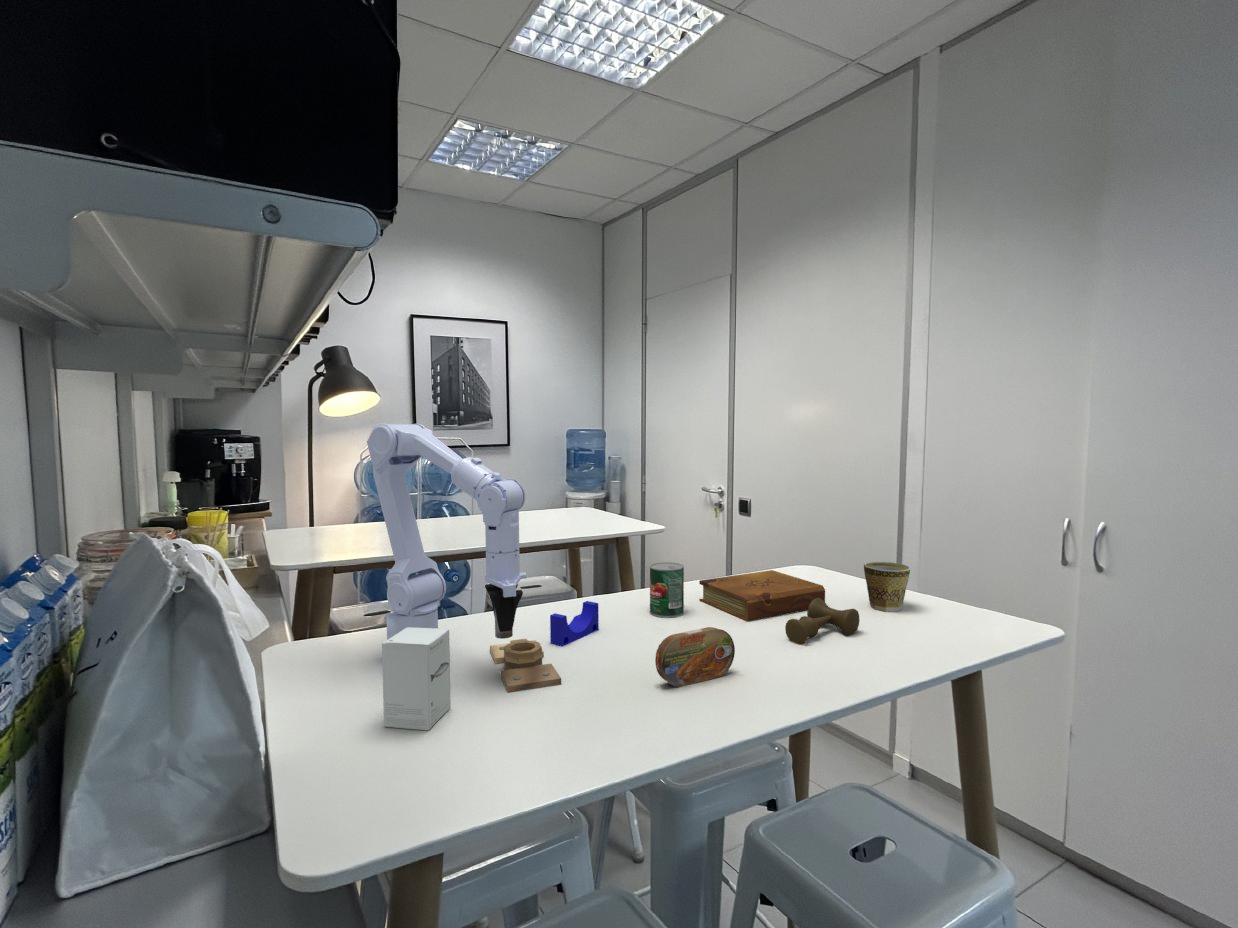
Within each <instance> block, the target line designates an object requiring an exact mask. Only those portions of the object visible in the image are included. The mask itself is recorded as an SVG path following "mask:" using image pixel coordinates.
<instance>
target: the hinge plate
mask: <svg viewBox="0 0 1238 928" xmlns="http://www.w3.org/2000/svg"><path fill="white" fill-rule="evenodd" d="M503 666H504V669H503V670H500V677H501V680H502V682H503V684H504V687H505V689H506V692H507V693H512V692H519V691H520V692H521V691H525V690H531V689H539V688H544V687H552V686H557V685H559V686H560V685H562V678H561V676H560V674H559V673H558V670H556V669H555V667H554V665H553V664H552V663H544V664H543V657H541V658H539V659H538V660H536V661H535V662H529V663H522V664H517V663H511V662H506V660H505V658H504V663H503Z"/></svg>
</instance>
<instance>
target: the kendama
mask: <svg viewBox="0 0 1238 928" xmlns="http://www.w3.org/2000/svg"><path fill="white" fill-rule="evenodd" d="M806 611H807V612H806V613H807V614H806V615H807V616H806V615H803V616H801V617H800V618H799V619H798V618H791V619H788V620H787V622H786V623H785V626H784V627H785V634H786V637H787V639H789V641H790V642H792V643H794V644H797V645H803V644H805V643H806V642H807V640H808V638H810V639H812V638H816V637H817V635H818V633H819V630H820V629H821V628H823V627H825V625H827V624H828V625H831V626H834V627H837V628H838V629H840V631H841V632H842V633H843V634H845V635H846V636H852V635H854V634H855V633H857V631H858V629H859V626H860V622H861V621H860V614H859V611H858V609H855V608H847V609H843V610H841V609H835V608H832V607H829V605H828V604H827V603H826V601H825V602H824V601H823V600H822V599H820V598H815V599H814V600H812V601H811V603H810V604H809V607H808V610H806Z"/></svg>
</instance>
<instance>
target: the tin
mask: <svg viewBox="0 0 1238 928" xmlns="http://www.w3.org/2000/svg"><path fill="white" fill-rule="evenodd" d="M735 652H736V648H735V642H734V639H733V638H732V636H731V634H729V632H727V631H726V630H723V629H721V628H716V627H712V626H711V627H710V626H709V627H708V626H707V627H703V628H698V629H697V628H696V629H694V630H693V629H692V630H688V631H683V632H678V633H674V634H671V635H668V636H667V637H665V638H664V639H663V640H661V643H660V644H659V645H658V647H657V649H656V652H655V662H654V663H655V668H656V672H657V674H658V675H659V677H660V678H661V679H662V680H664V681H665V682H667V683H668V684H669V685H671V686H674V687H677V688H682V687H686V686H691V685H693V684H698V683H701V682H706V681H709V680H712V679H713V680H714V679H717V678H720V677H722V676H724V675H725V674H726V673H727V672H728V671H729V670H730V668H731V666H732V665H733V661H734V660H735V654H736V653H735Z"/></svg>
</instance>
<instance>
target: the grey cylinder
mask: <svg viewBox="0 0 1238 928" xmlns="http://www.w3.org/2000/svg"><path fill="white" fill-rule="evenodd" d="M513 629H514V628H512V631H504V632H500V630H499V627H498V623H497V617H496V611H495V617H494V637H495V638H496V639H509V638H512V637H513V636H514V632H513V631H514V630H513Z"/></svg>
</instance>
